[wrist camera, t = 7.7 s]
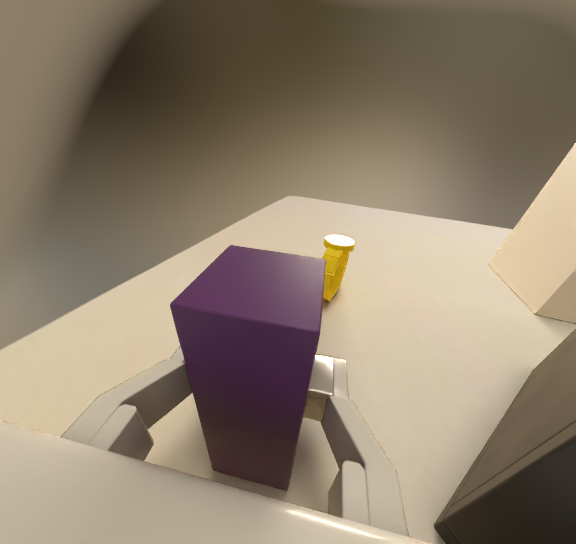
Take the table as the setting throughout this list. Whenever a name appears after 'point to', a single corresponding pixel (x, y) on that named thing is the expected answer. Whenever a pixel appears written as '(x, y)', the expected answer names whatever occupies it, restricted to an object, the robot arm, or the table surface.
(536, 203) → the milk
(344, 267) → the watch
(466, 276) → the table surface
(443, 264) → the table surface
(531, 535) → the waste bin
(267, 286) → the purple rectangular block
